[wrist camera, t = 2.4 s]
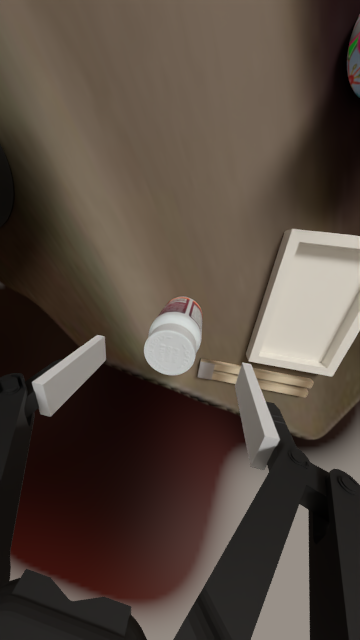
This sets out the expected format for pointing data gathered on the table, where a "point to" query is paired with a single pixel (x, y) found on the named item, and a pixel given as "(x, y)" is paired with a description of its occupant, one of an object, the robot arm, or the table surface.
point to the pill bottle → (174, 337)
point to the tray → (309, 303)
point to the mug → (354, 59)
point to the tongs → (209, 372)
